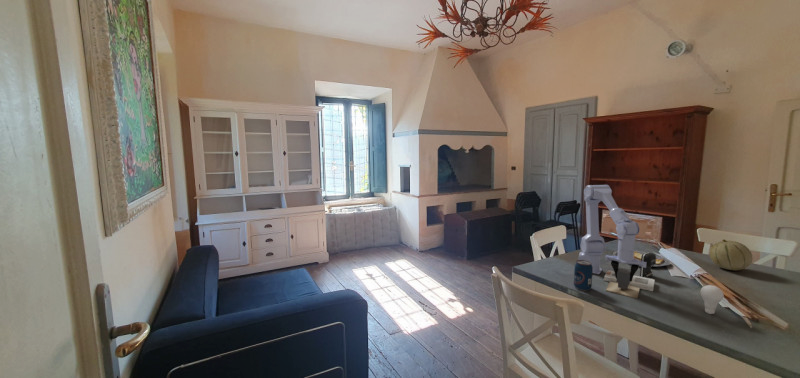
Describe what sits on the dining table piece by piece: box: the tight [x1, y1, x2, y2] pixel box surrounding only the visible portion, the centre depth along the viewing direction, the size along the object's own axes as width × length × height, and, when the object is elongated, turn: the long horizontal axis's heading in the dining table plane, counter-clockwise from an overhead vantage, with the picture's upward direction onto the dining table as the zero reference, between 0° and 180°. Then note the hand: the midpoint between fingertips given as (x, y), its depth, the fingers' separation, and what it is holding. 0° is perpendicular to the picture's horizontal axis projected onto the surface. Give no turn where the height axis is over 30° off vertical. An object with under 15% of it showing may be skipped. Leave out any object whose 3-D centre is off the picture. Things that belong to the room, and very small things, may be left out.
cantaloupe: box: [709, 239, 753, 271], centre depth 157 cm, size 15×15×15 cm
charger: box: [616, 266, 631, 289], centre depth 137 cm, size 4×6×8 cm
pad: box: [605, 281, 641, 299], centre depth 137 cm, size 11×11×1 cm
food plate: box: [611, 249, 671, 267], centre depth 172 cm, size 25×23×4 cm
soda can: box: [573, 259, 593, 292], centre depth 140 cm, size 7×7×12 cm
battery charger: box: [639, 251, 657, 278], centre depth 150 cm, size 7×4×11 cm, turn 119°
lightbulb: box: [700, 284, 725, 315], centre depth 116 cm, size 6×6×11 cm
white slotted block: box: [603, 270, 656, 292], centre depth 145 cm, size 18×10×3 cm, turn 48°
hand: (623, 279), depth 137 cm, fingers closed on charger, 4 cm apart
